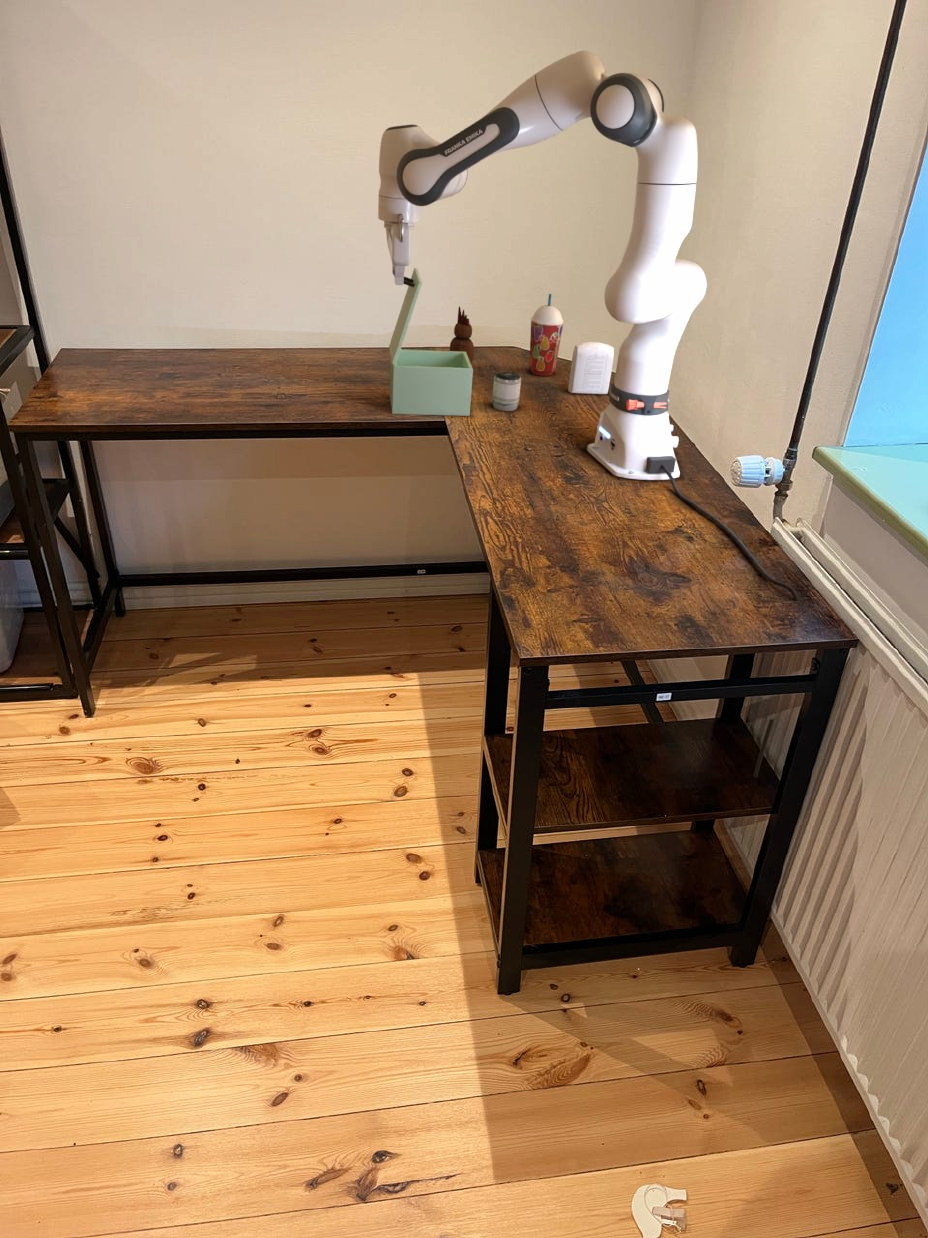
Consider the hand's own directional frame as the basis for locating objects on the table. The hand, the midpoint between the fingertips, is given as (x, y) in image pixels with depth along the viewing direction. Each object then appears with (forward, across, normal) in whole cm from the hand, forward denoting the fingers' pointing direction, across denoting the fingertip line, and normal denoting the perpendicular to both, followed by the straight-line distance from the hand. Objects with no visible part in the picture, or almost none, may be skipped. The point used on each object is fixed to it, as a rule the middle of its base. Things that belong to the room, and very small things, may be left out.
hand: (397, 279), depth 208 cm
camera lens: (+28, 0, -26) cm, 38 cm away
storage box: (+28, 0, -8) cm, 29 cm away
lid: (+8, 0, -2) cm, 8 cm away
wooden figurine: (+28, +31, -19) cm, 46 cm away
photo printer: (+28, +13, -49) cm, 58 cm away
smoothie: (+28, +28, -40) cm, 56 cm away
